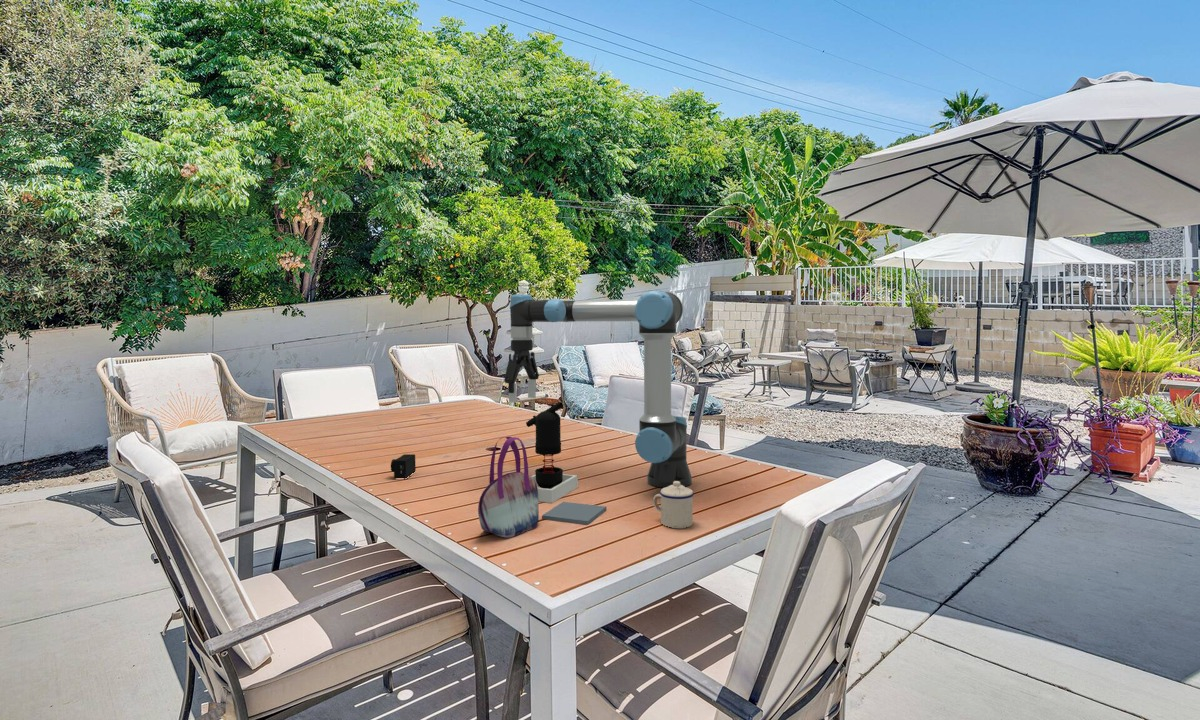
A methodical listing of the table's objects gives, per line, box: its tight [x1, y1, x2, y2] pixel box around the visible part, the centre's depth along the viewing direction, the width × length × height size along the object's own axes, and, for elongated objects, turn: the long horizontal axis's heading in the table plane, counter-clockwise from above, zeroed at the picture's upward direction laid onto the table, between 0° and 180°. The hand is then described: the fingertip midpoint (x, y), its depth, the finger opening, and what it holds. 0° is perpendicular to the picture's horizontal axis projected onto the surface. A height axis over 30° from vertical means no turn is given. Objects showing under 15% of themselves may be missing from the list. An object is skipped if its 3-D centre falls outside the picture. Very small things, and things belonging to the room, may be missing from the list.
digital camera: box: [390, 453, 417, 479], centre depth 223 cm, size 10×5×7 cm, turn 178°
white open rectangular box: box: [530, 473, 579, 504], centre depth 200 cm, size 14×19×4 cm
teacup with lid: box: [652, 481, 694, 529], centre depth 170 cm, size 12×9×12 cm
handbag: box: [477, 436, 540, 538], centre depth 165 cm, size 21×10×25 cm, turn 143°
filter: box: [525, 401, 564, 489], centre depth 199 cm, size 14×9×30 cm
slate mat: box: [541, 501, 607, 526], centre depth 178 cm, size 14×14×1 cm
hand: (522, 400), depth 216 cm, fingers open, 13 cm apart
